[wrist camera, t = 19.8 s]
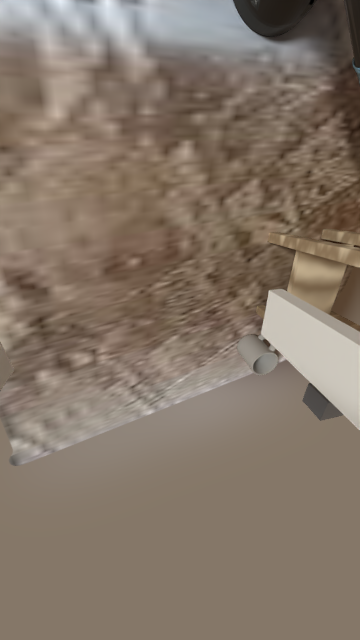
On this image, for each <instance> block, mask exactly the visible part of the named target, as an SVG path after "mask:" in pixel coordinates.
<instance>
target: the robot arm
mask: <svg viewBox="0 0 360 640" xmlns="http://www.w3.org/2000/svg"><path fill="white" fill-rule="evenodd" d="M233 1H234V3H235V6H236V8H237V10H238V12H239V14H240V15H241V17H242V19H243V20H244V21H245V23H246V24H247V25H248V26H249V27H250V28H251V29H253V30H254V31H255V32H257V33H259V34H261V35H265V36H277V35H281V34H283V33H285V32H287V31H289V30H290V29H291V28H293V27H294V26H295V25H296V24H297V23H298V22H299V21H300V20H301V19H302V18H303V17H304V16H305V15H306V14H307V12H308V11H309V10H310V9H311V8H312V6H313V5H314V3H315V2H316V0H233ZM344 3H345V9H346V15H347V20H348V26H349V31H350V37H351V43H352V48H353V54H354V58H353V68H354V69H355V71H356V72H357V76H358V80H359V85H360V0H344ZM261 335H262V336H263V337H264V338H265V339H267V340H268V341H269V342H270V343H271V344H272V345H273V346H274V347H275V348H276V349H277V350H278V351H279V352H280V353H281V354H282V355H283V356H284V357H285V358H286V359H287V360H288V361H289V362H290V363H291V364H292V365H293V366H294V367H295V368H296V369H297V370H298V371H299V372H301V374H302V375H303V376H304V377H305V378H307V379H308V380H309V381H310V382H311V383H312V384H313V385H314V386H315V387H316V388H317V389H318V390H319V391H320V392H321V393H322V394H323V395H324V396H325V397H326V398H327V399H328V400H329V401H330V402H331V403H332V404H333V405H334V406H335V407H336V408H337V409H338V410H339V411H340V412H341V413H342V414H343V415H344V416H345V417H347V418H348V419H349V420H350V421H351V422H352V423H353V424H354V425H355V426H356V427H357V428H358V429H359V430H360V332H359V331H357V330H356V329H354V328H352V327H350V326H348V325H347V324H345V323H343V322H341V321H339V320H338V319H336V318H334V317H332V316H330V315H329V314H327V313H325V312H323V311H321V310H319V309H318V308H316V307H314V306H312V305H310V304H309V303H307V302H305V301H303V300H301V299H300V298H298V297H296V296H294V295H292V294H291V293H289V292H287V291H285V290H283V289H276V290H269V294H268V299H267V305H266V310H265V315H264V320H263V326H262V331H261ZM13 371H14V368H13V366H12V364H11V362H10V360H9V358H8V356H7V354H6V352H5V350H4V348H3V346H2V344H1V342H0V391H1V389H2V388H3V386H4V385H5V383H6V382H7V380H8V379H9V377H10V376H11V374H12V373H13Z"/></svg>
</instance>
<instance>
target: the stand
mask: <svg viewBox="0 0 360 640" xmlns="http://www.w3.org/2000/svg"><path fill="white" fill-rule="evenodd" d="M321 239H326V240H331V241H336V242H342V243H347V244H336V243H331V242H326V241H321V240H315V239H310V238H305V237H300V236H295V235H290V234H285V233H280V232H270V233H269V237H268V242H270V243H273V244H277V245H280V246H284V247H288V248H291V249H295V250H296V254H295V259H294V263H293V268H292V272H291V276H290V281H289V285H288V289H287V292H289V293H291V294H292V295H294V296H296V297H298V298H300V299H301V300H303V301H305V302H307V303H309V304H310V305H312V306H314V307H316V308H318V309H319V310H321V311H323V312H325V313H327V314H329V315H330V316H332V317H334V318H336V319H338V320H339V321H341V322H343V323H345V324H347V325H348V326H350V327H352V328H354V329H356V330H357V331H359V332H360V326H359V325H357V324H355V323H353V322H352V321H350V320H348V319H346V318H344V317H342V316H340V315H338V314H336V313H334V312H333V311H331V309H332V306H333V304H334V301H335V298H336V295H337V292H338V289H339V286H340V284H341V281H342V278H343V275H344V272H345V269H346V266H347V264H349V265H353V266H356V267H360V248H357V247H353V246H354V245H358V246H360V233H356V232H348V231H341V230H333V229H325V230H323V233H322V236H321ZM265 310H266V306H264V305H261V306H257V310H256V313H257V314H258V315H259V316H260V317H262V318H263V319H264V315H265Z"/></svg>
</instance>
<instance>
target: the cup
mask: <svg viewBox="0 0 360 640" xmlns="http://www.w3.org/2000/svg"><path fill="white" fill-rule="evenodd" d="M264 339H265V338H264V337H263V336H262V335H259V336H256V335H252V334H251V335H246V336H244V337H243V338H242V339H241V340H240V341H239V342H238V345H237V350H238V352H239V354H240V355H241V357H242V358H243V359H244V361H245V362H246V363H247V365H248V366H249V367H250V369H251V370H252V371H253V372H254V373H255V374H257V375H263V374H267V373H269V372H270V371H272V370H273V369H274V368H275V367H276V365H277V363H278V357H277V355H276V354H275V353H274V351H275V350H276V348H275V347H274V346H273V345H272V344H271V343H270V346H269V347H268V346H267V345H266V344H265V343H264V342H263V340H264Z"/></svg>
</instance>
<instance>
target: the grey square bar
mask: <svg viewBox="0 0 360 640" xmlns="http://www.w3.org/2000/svg"><path fill="white" fill-rule="evenodd" d="M303 402H304V403H305V404H306V405H307V406H308V407H309V408H310V410H311V411H312V412H313V413H314V414H315V415H316V416H317V417H318V419H319V420H325V419H329V418H334V417H338V416H342V415H343V414H342V413H341V412H340V411H339V410H338V409H337V408H336V407H335V406H334V405H333V404H332V403H331V402H330V401H329V400H328V399H327V398H326V397H325V396H324V395H323V394H322V393H321V392H320V391H319V390H318V389H317V388H316V387H315V386H314V385H313V384H312V383H309V384H308V387H307V389H306V392H305V395H304V398H303Z"/></svg>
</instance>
